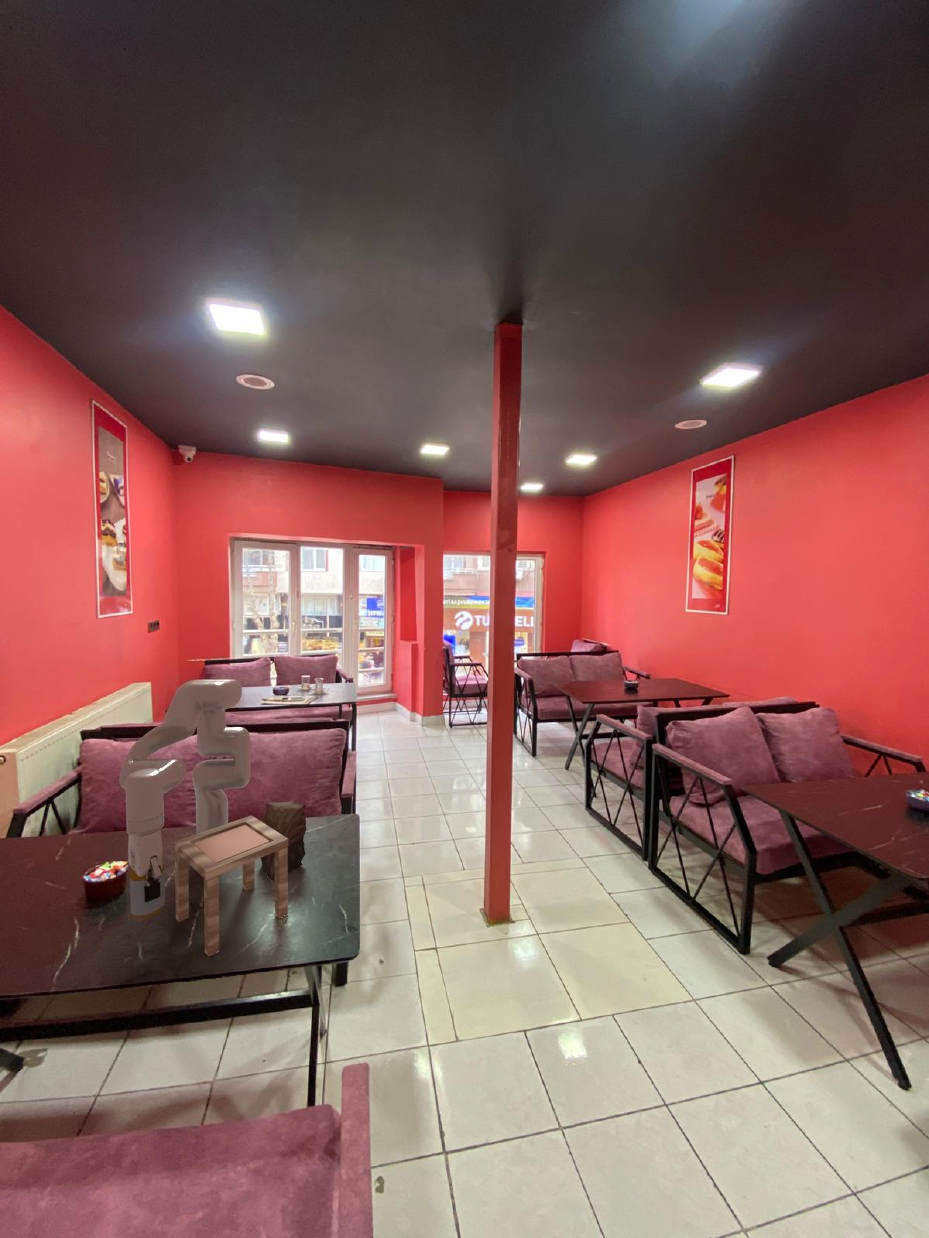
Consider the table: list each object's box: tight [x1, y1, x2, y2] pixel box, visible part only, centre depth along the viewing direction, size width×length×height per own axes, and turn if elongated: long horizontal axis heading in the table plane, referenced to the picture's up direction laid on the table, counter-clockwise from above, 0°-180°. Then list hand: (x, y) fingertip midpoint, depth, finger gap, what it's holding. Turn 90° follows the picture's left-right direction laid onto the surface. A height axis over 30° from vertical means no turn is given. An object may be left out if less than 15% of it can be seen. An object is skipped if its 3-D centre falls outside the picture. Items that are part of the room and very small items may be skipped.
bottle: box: [129, 855, 166, 920], centre depth 116 cm, size 7×7×15 cm
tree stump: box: [260, 800, 307, 882], centre depth 153 cm, size 13×13×20 cm
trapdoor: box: [193, 825, 269, 863], centre depth 128 cm, size 14×14×1 cm
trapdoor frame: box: [173, 815, 289, 957], centre depth 128 cm, size 21×21×21 cm
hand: (147, 892), depth 116 cm, fingers closed on bottle, 6 cm apart
